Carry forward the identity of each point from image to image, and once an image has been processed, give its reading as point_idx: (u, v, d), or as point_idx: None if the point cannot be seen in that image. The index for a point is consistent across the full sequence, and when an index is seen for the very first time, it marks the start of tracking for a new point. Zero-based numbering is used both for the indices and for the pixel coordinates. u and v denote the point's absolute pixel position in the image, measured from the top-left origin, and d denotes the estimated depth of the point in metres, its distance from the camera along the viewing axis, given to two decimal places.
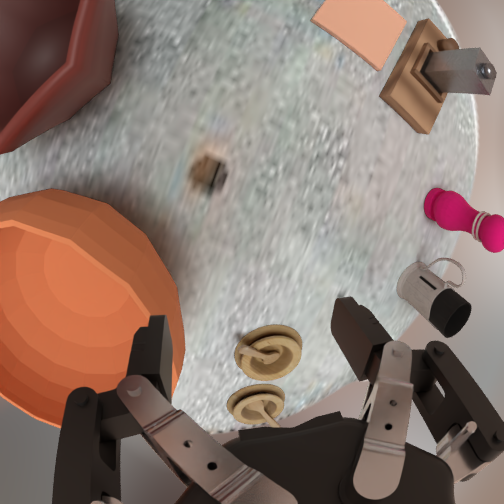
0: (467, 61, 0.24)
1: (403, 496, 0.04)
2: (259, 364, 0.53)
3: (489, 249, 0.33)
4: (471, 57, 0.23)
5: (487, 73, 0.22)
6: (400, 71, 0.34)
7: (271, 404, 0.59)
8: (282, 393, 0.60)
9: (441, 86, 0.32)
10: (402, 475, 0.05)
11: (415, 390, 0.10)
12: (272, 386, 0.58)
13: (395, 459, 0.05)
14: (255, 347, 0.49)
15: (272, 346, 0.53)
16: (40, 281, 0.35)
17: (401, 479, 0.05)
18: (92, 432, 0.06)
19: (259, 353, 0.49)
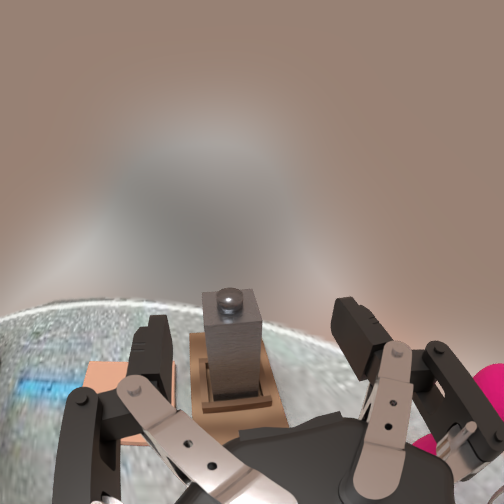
0: None
1: (403, 496, 0.04)
2: None
3: None
4: None
5: (225, 305, 0.25)
6: None
7: None
8: None
9: (245, 387, 0.29)
10: (402, 475, 0.05)
11: (415, 390, 0.10)
12: None
13: (395, 459, 0.05)
14: None
15: None
16: None
17: (401, 479, 0.05)
18: (92, 432, 0.06)
19: None
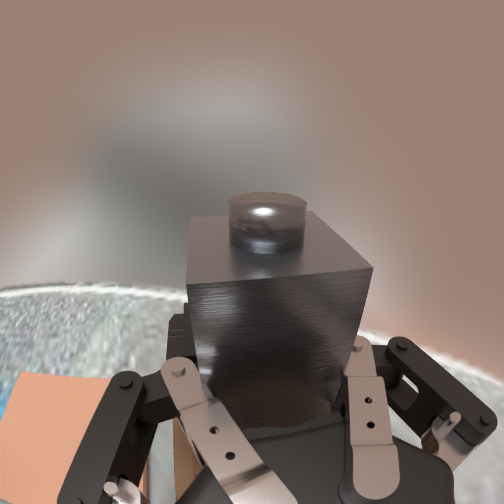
0: None
1: (408, 502, 0.04)
2: None
3: None
4: None
5: (259, 222, 0.08)
6: None
7: None
8: None
9: None
10: (402, 475, 0.05)
11: None
12: None
13: (395, 459, 0.05)
14: None
15: None
16: None
17: (401, 487, 0.05)
18: (128, 416, 0.07)
19: None
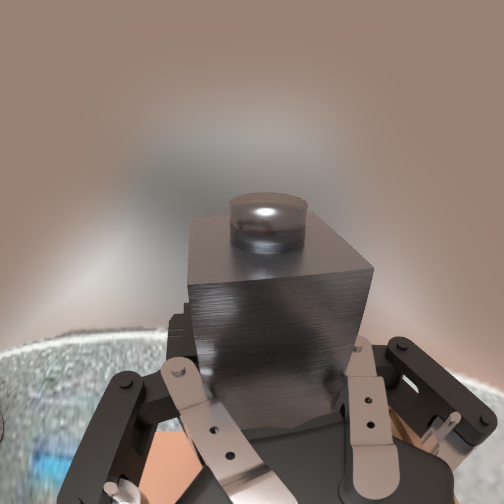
0: None
1: (408, 502, 0.04)
2: None
3: None
4: None
5: (260, 223, 0.08)
6: None
7: None
8: None
9: None
10: (402, 475, 0.05)
11: None
12: None
13: (395, 459, 0.05)
14: None
15: None
16: None
17: (401, 487, 0.05)
18: (128, 416, 0.07)
19: None
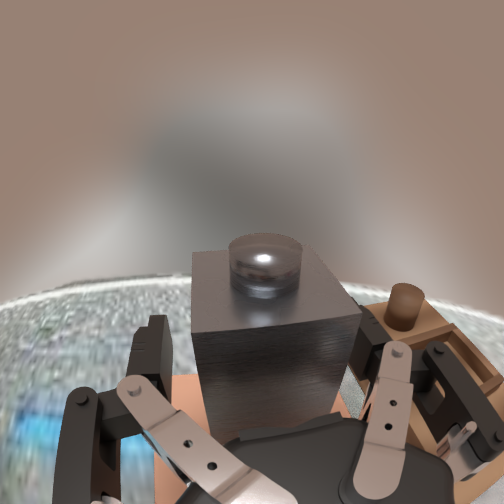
0: None
1: (403, 496, 0.04)
2: None
3: None
4: None
5: (257, 271, 0.09)
6: None
7: None
8: None
9: None
10: (402, 475, 0.05)
11: (415, 390, 0.10)
12: None
13: (395, 459, 0.05)
14: None
15: None
16: None
17: (401, 479, 0.05)
18: (92, 432, 0.06)
19: None
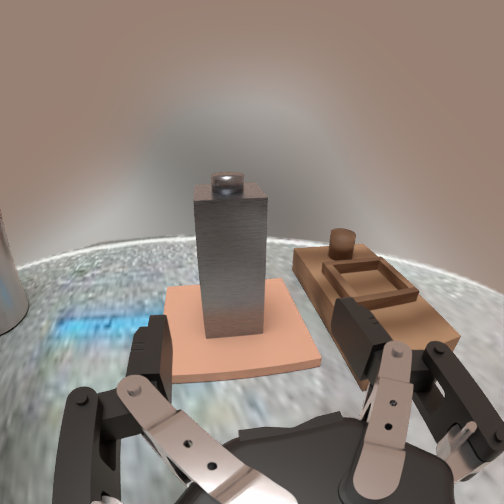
0: None
1: (403, 496, 0.04)
2: None
3: None
4: None
5: (222, 181, 0.20)
6: None
7: None
8: None
9: (246, 311, 0.24)
10: (402, 475, 0.05)
11: (415, 390, 0.10)
12: None
13: (395, 459, 0.05)
14: None
15: None
16: None
17: (401, 479, 0.05)
18: (92, 432, 0.06)
19: None
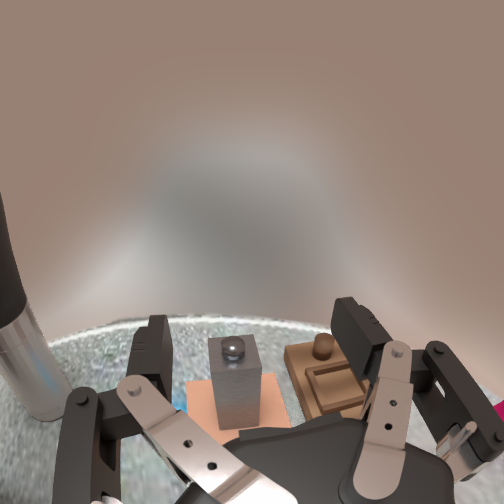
0: None
1: (403, 496, 0.04)
2: None
3: None
4: None
5: (229, 353, 0.27)
6: None
7: None
8: None
9: (247, 417, 0.31)
10: (402, 475, 0.05)
11: (415, 390, 0.10)
12: None
13: (395, 459, 0.05)
14: None
15: None
16: None
17: (401, 479, 0.05)
18: (92, 432, 0.06)
19: None
